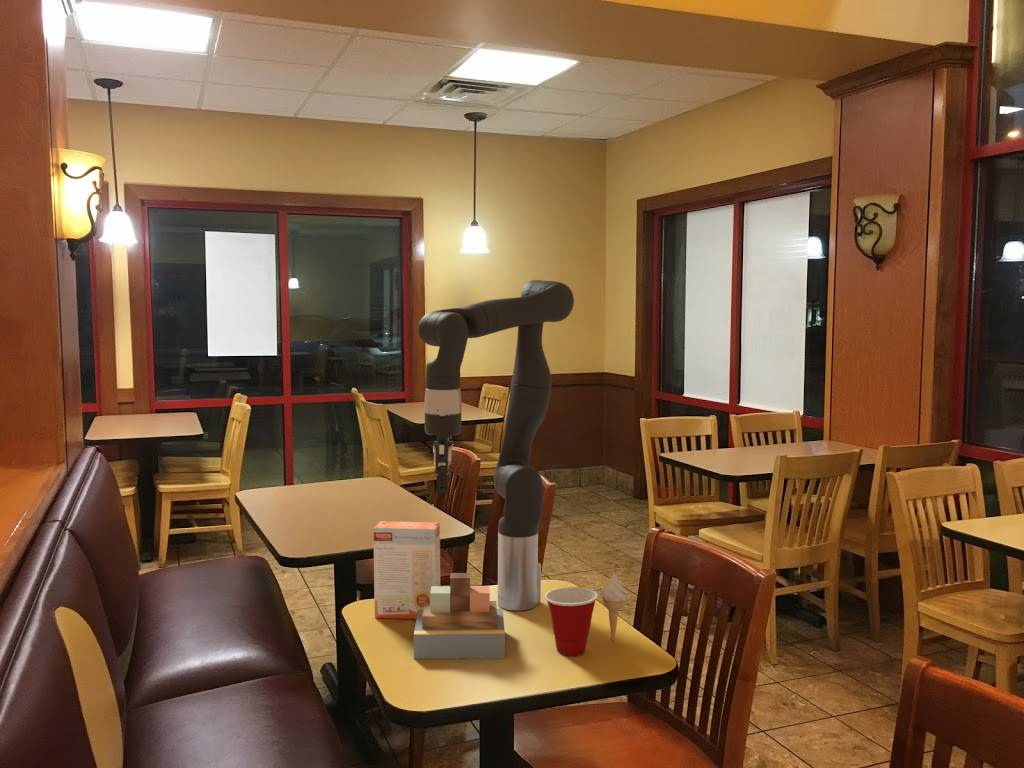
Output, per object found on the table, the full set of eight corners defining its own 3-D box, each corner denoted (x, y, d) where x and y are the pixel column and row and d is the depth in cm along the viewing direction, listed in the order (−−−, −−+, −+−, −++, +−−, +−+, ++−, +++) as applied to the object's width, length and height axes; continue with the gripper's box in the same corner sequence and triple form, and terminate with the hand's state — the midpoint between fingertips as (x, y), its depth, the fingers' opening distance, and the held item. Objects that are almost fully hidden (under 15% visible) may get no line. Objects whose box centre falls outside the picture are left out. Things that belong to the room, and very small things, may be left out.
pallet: (496, 613, 176) (496, 568, 175) (497, 628, 168) (497, 582, 167) (424, 613, 175) (424, 569, 174) (422, 629, 167) (422, 582, 166)
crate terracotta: (489, 604, 174) (489, 586, 173) (489, 612, 170) (489, 593, 169) (470, 604, 173) (470, 586, 173) (469, 612, 169) (469, 593, 169)
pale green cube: (450, 604, 173) (450, 586, 173) (450, 612, 169) (450, 593, 169) (431, 604, 173) (431, 586, 173) (430, 612, 169) (430, 593, 169)
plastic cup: (567, 634, 178) (568, 579, 176) (607, 650, 170) (609, 593, 169) (532, 649, 170) (533, 592, 169) (572, 666, 163) (573, 607, 161)
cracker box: (441, 611, 190) (441, 521, 187) (436, 621, 184) (435, 529, 181) (380, 608, 191) (379, 519, 189) (373, 618, 185) (372, 526, 183)
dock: (502, 631, 179) (502, 608, 178) (504, 658, 166) (504, 633, 166) (418, 631, 178) (418, 609, 178) (413, 658, 165) (413, 634, 165)
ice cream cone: (607, 648, 171) (609, 578, 169) (594, 638, 176) (596, 569, 174) (631, 644, 173) (633, 574, 171) (617, 634, 178) (619, 566, 176)
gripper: (426, 405, 177) (426, 480, 179) (422, 415, 163) (422, 497, 165) (462, 405, 177) (461, 480, 179) (460, 415, 163) (460, 496, 165)
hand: (443, 488), depth 172 cm, fingers open, 8 cm apart
